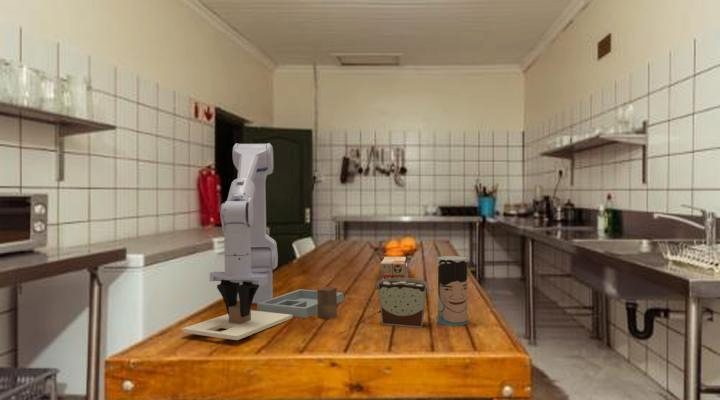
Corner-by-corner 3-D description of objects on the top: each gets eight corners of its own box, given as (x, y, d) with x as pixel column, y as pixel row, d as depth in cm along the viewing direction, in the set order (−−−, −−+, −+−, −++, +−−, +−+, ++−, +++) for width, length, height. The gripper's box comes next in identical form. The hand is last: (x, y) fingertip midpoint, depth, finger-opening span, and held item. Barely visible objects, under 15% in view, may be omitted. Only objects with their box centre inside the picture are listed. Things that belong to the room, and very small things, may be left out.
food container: (433, 321, 123) (433, 279, 123) (428, 328, 117) (428, 283, 117) (383, 317, 127) (383, 276, 127) (376, 323, 121) (375, 280, 121)
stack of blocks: (387, 293, 157) (387, 252, 157) (408, 293, 156) (408, 252, 156) (380, 309, 136) (380, 262, 136) (404, 310, 135) (404, 262, 135)
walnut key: (317, 321, 124) (317, 289, 124) (325, 317, 128) (325, 286, 128) (328, 322, 123) (328, 290, 123) (336, 318, 127) (336, 287, 126)
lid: (181, 332, 111) (181, 312, 111) (242, 312, 130) (242, 295, 130) (237, 340, 105) (237, 318, 105) (292, 318, 124) (292, 299, 124)
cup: (436, 324, 120) (435, 259, 120) (440, 317, 127) (440, 255, 126) (465, 326, 118) (465, 260, 118) (468, 319, 125) (468, 256, 124)
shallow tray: (257, 315, 130) (257, 303, 130) (299, 299, 148) (299, 289, 148) (306, 321, 124) (305, 308, 124) (343, 303, 142) (343, 292, 142)
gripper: (199, 255, 116) (200, 315, 116) (253, 258, 110) (254, 322, 110) (220, 251, 123) (221, 309, 123) (272, 254, 116) (273, 315, 117)
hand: (238, 315), depth 117 cm, fingers closed on lid, 3 cm apart
